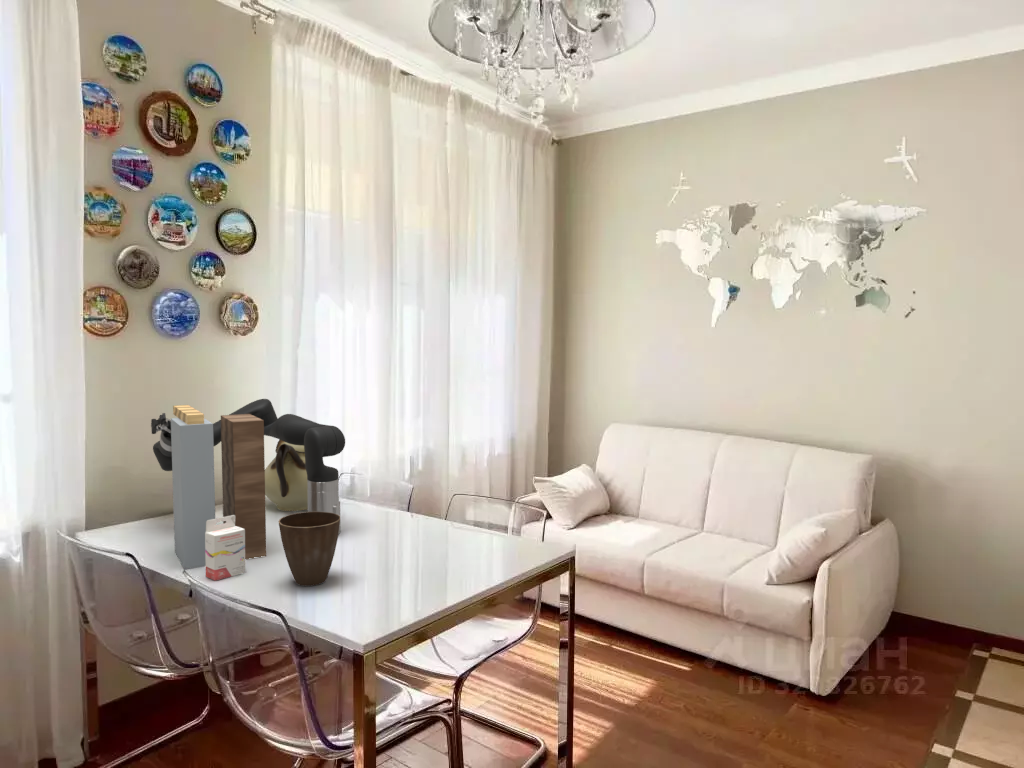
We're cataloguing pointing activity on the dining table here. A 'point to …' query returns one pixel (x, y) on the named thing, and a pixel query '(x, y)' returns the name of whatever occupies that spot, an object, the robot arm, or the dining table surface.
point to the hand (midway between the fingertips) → (180, 415)
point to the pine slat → (188, 414)
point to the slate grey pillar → (192, 489)
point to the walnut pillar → (245, 478)
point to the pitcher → (287, 478)
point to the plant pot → (309, 545)
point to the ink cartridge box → (224, 548)
